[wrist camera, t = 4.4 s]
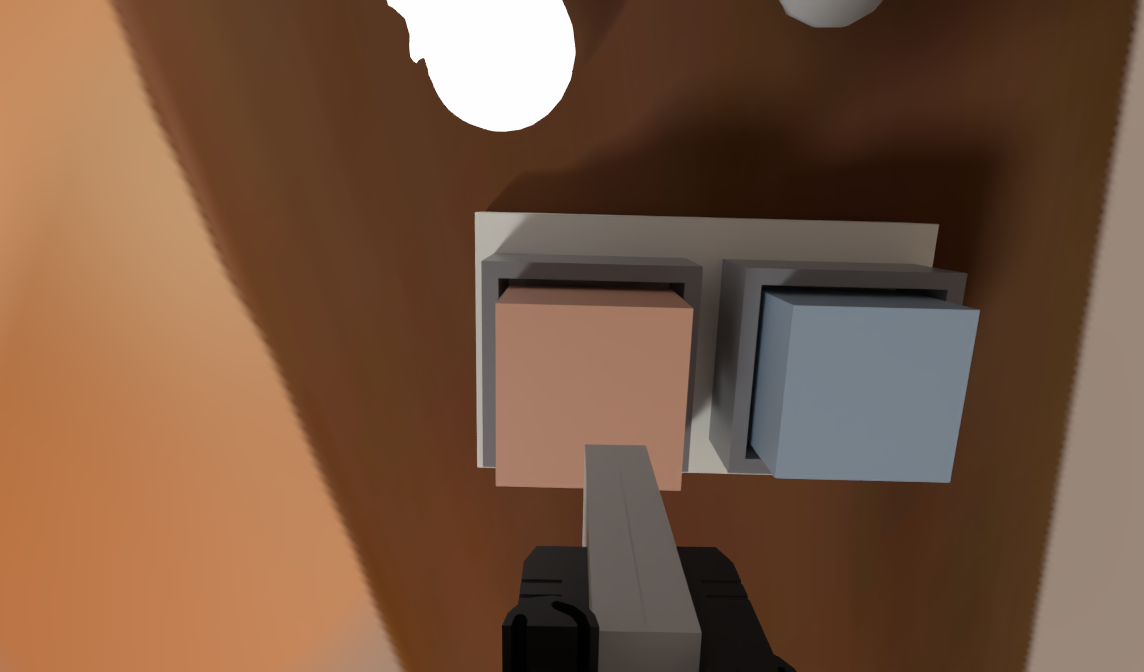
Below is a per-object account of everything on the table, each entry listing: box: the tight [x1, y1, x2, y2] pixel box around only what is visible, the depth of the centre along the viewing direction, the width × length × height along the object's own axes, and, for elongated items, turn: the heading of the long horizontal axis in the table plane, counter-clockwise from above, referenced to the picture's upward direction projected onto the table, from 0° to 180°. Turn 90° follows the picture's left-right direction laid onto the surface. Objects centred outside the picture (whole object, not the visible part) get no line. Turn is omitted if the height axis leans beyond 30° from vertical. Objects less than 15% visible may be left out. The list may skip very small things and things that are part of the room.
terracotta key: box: [495, 285, 693, 491], centre depth 24 cm, size 7×7×5 cm
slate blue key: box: [747, 287, 980, 483], centre depth 26 cm, size 7×7×5 cm
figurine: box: [387, 0, 575, 131], centre depth 24 cm, size 7×7×12 cm
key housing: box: [475, 212, 968, 475], centre depth 29 cm, size 13×22×7 cm, turn 89°
